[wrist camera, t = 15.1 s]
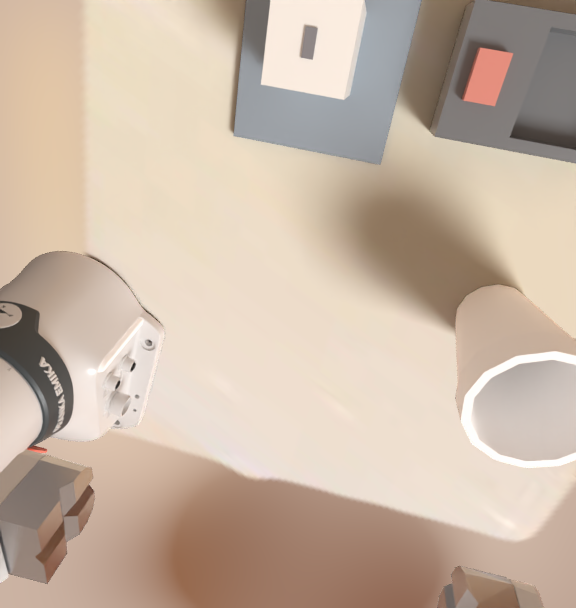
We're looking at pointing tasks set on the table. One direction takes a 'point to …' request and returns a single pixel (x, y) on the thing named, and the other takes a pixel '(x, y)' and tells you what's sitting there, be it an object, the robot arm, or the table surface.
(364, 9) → the block
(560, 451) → the foam cup
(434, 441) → the table surface
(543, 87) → the power strip
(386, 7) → the rubber mat
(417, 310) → the table surface
